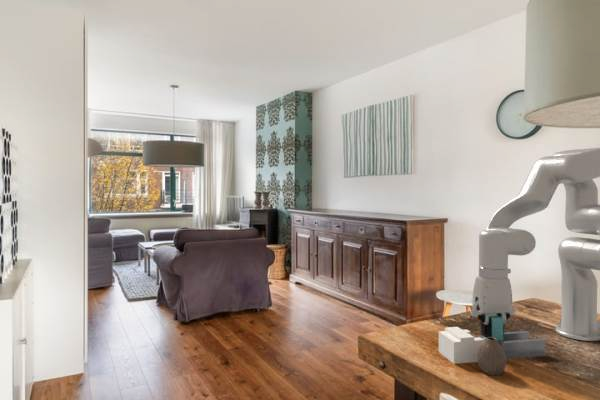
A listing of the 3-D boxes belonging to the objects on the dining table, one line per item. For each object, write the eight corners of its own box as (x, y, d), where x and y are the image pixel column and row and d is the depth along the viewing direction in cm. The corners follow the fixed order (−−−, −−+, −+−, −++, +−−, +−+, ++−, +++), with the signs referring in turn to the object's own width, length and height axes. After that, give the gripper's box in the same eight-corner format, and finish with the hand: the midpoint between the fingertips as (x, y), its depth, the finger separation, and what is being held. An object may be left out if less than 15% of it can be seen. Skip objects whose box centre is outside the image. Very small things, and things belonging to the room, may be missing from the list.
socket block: (466, 349, 119) (466, 326, 119) (484, 361, 111) (484, 336, 111) (438, 351, 118) (438, 328, 118) (453, 363, 110) (454, 338, 109)
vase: (472, 366, 108) (472, 334, 108) (496, 365, 109) (497, 333, 108) (485, 378, 101) (485, 344, 101) (512, 377, 102) (512, 343, 101)
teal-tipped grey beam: (494, 346, 119) (494, 312, 118) (503, 352, 114) (504, 317, 114) (450, 349, 116) (450, 315, 116) (458, 355, 112) (458, 320, 112)
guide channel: (526, 345, 122) (526, 330, 122) (546, 355, 114) (546, 340, 114) (484, 348, 120) (484, 333, 120) (501, 359, 112) (501, 343, 112)
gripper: (510, 269, 120) (509, 330, 121) (459, 271, 118) (459, 333, 118) (528, 274, 113) (527, 339, 114) (474, 277, 110) (473, 343, 111)
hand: (492, 335), depth 116 cm, fingers closed on teal-tipped grey beam, 3 cm apart
